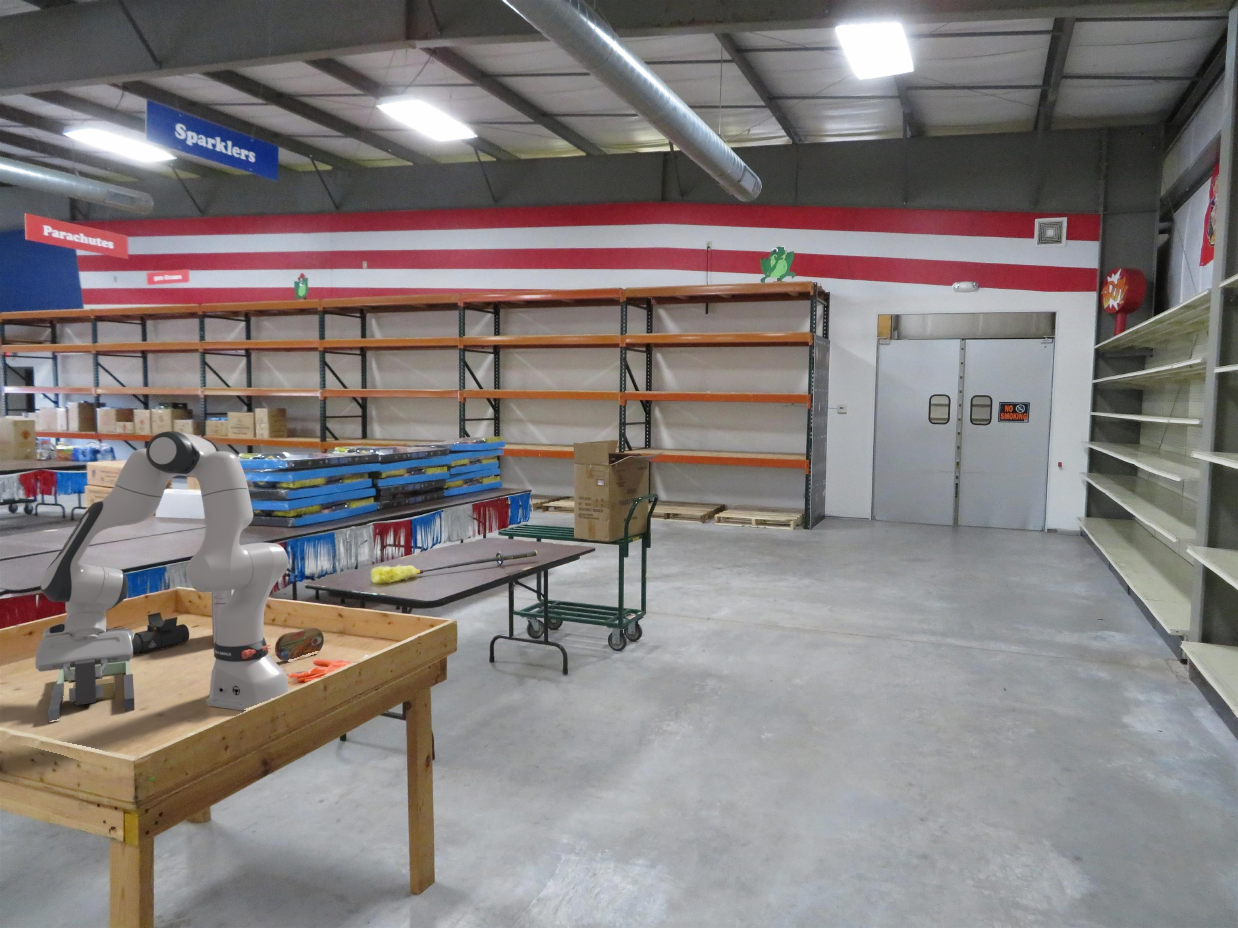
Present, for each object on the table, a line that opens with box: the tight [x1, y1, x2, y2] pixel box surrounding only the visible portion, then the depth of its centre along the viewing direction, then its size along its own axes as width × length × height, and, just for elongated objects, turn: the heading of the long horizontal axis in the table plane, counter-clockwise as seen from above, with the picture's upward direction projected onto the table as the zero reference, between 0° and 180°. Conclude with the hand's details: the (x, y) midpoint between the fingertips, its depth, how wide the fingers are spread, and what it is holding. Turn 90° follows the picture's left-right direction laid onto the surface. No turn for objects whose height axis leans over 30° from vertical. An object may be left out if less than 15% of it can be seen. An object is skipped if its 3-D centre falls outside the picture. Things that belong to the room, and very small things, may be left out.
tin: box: [274, 627, 325, 662], centre depth 235 cm, size 15×3×8 cm, turn 146°
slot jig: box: [48, 673, 135, 722], centre depth 196 cm, size 20×17×3 cm
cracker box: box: [211, 589, 234, 647], centre depth 251 cm, size 14×6×21 cm, turn 24°
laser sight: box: [132, 612, 190, 655], centre depth 238 cm, size 10×22×10 cm, turn 149°
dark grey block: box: [68, 658, 103, 706], centre depth 194 cm, size 5×7×10 cm
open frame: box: [56, 660, 132, 684], centre depth 210 cm, size 13×16×3 cm
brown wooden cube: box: [96, 677, 115, 701], centre depth 200 cm, size 4×4×4 cm
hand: (85, 679), depth 193 cm, fingers closed on dark grey block, 4 cm apart
